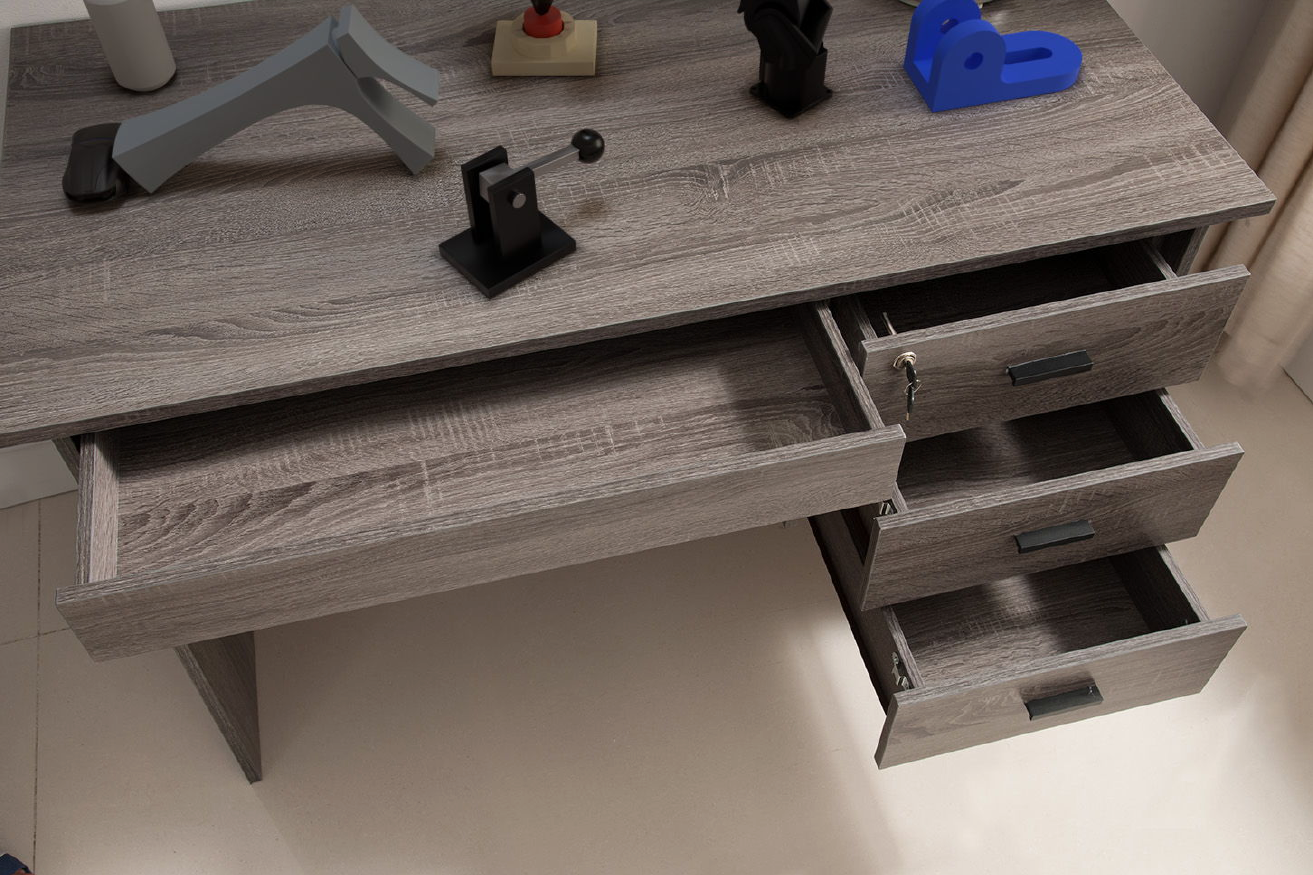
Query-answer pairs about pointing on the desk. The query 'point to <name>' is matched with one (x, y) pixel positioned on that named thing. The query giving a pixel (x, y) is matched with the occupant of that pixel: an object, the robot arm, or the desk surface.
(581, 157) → the lever handle
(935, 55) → the bracket
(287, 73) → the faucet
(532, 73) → the button box
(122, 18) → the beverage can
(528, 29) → the button
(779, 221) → the desk surface
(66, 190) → the black computer mouse
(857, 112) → the desk surface
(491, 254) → the lever switch
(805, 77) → the robot arm
